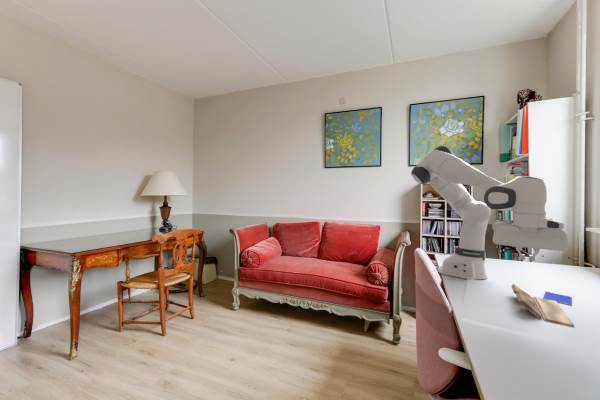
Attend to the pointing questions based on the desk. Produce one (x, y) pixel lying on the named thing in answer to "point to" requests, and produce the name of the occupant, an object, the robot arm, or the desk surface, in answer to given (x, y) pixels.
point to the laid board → (552, 311)
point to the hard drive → (558, 298)
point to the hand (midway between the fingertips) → (526, 259)
